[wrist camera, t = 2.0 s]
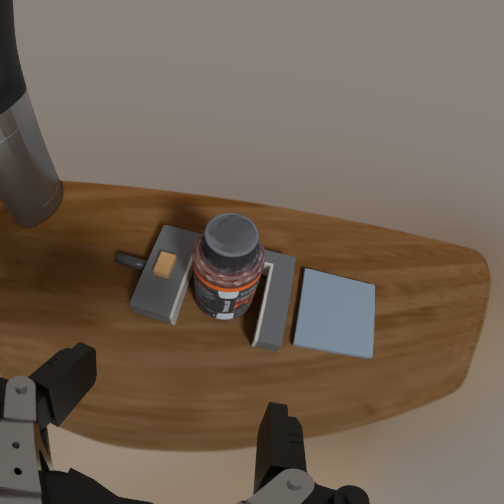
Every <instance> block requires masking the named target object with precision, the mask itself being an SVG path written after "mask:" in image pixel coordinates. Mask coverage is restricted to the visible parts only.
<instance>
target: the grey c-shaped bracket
mask: <svg viewBox="0 0 504 504" xmlns="http://www.w3.org/2000/svg"><path fill="white" fill-rule="evenodd" d="M200 235H201V233H197V232H193V231H189V230H185V229H181V228H177V227H173V226H168V225H164V226H163V228H162V230H161V233H160V235H159V237H158V239H157V241H156V243H155V245H154V248H153V250H152V252H151V254H150V256H149V259H148V261H147V260H144V259H140V258H137V257H133V256H130V255H126V254H123V253H120V252H118V253H117V254H116V256H115V262H116V263H119V264H122V265H125V266H128V267H132V268H135V269H138V270H142V271H143V272H142V275H141V277H140V279H139V282H138V284H137V287H136V289H135V291H134V294H133V296H132V299H131V301H130V304H129V305H130V306H131V308H132V309H133V311H134V312H135V313H138V314H141V315H144V316H147V317H150V318H153V319H156V320H159V321H162V322H166V323H169V324H172V325H175V323H176V320H177V317H178V314H179V311H180V308H181V305H182V303H183V300H184V297H185V294H186V291H187V288H188V285H189V282H190V279H191V276H192V274H193V247H194V245H195V242H196V241H197V239H198V237H199V236H200ZM264 251H265V263H264V267H263V270H262V274H263V275H267V277H266V282H265V287H264V291H263V296H262V300H261V305H260V310H259V314H258V319H257V323H256V328H255V332H254V337H253V341H252V346H255V347H259V348H263V349H268V350H272V351H277V350H278V349H279V348H280V347H281V345H282V339H283V334H284V328H285V323H286V317H287V311H288V305H289V299H290V293H291V287H292V281H293V275H294V268H295V262H296V257H292V256H288V255H284V254H281V253H277V252H273V251H269V250H265V249H264Z"/></svg>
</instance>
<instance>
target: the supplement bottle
mask: <svg viewBox="0 0 504 504" xmlns="http://www.w3.org/2000/svg"><path fill="white" fill-rule="evenodd" d="M264 263H265V251H264V247H263V245H262V243H261V242H260V240H259V234H258V229H257V227H256V226H255V224H254V223H253V222H252V221H251V220H250V219H249V218H247V217H245V216H243V215H240V214H237V213H223V214H220V215H217V216H215V217H214V218H212V219H211V220H210V221H209V222H208V224H207V226H206V228H205V231H204V232H203V233H202V234H201V235H200V236H199V237H198V239H197V241H196V242H195V245H194V247H193V275H194V288H195V298H196V302H197V304H198V306H199V308H200V309H201V311H202V312H203V313H204V314H205V315H207V316H208V317H210V318H212V319H214V320H218V321H231V320H235V319H237V318H239V317H240V316H242V315H243V314H244V313H245V312H246V311H247V310H248V308H249V307H250V305H251V303H252V300H253V296H254V294H255V291H256V288H257V285H258V283H259V279H260V277H261V274H262V270H263V267H264Z"/></svg>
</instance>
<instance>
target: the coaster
mask: <svg viewBox="0 0 504 504" xmlns="http://www.w3.org/2000/svg"><path fill="white" fill-rule="evenodd" d="M374 312H375V285H372V284H368V283H364V282H360V281H356V280H352V279H348V278H344V277H340V276H336V275H332V274H328V273H324V272H320V271H316V270H312V269H308V268H305V269H304V272H303V279H302V287H301V293H300V300H299V307H298V313H297V320H296V326H295V332H294V338H293V344H292V345H294V346H299V347H304V348H309V349H314V350H320V351H325V352H331V353H336V354H342V355H348V356H354V357H361V358H367V359H370V358H372V354H373V338H374Z"/></svg>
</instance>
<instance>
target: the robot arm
mask: <svg viewBox="0 0 504 504" xmlns="http://www.w3.org/2000/svg"><path fill="white" fill-rule="evenodd" d="M62 196H63V187H62V185H61V183H60V180H59V178H58V176H57V173H56V171H55V168H54V166H53V163H52V161H51V158H50V156H49V153H48V151H47V148H46V145H45V143H44V140H43V137H42V135H41V132H40V129H39V126H38V123H37V120H36V117H35V114H34V111H33V108H32V105H31V102H30V98H29V95H28V91H27V88H26V84H25V81H24V77H23V73H22V70H21V65H20V61H19V56H18V51H17V46H16V38H15V29H14V15H13V0H0V199H1V200H2V202H3V203H4V205H5V207H6V208H7V210H8V211H9V213H10V214H11V216H12V217H13V219H14V220H15V222H16V223H17V224H18V225H20V226H23V227H29V226H34V225H36V224H39V223H40V222H42V221H44V220H45V219H46V218H48V217H49V216H50V215H51V214H52V213H53V212H54V211H55V209H56V208H57V207H58V205H59V203H60V202H61V199H62ZM96 376H97V370H96V351H95V349H94V348H93V347H90V346H88V345H86V344H84V343H81V342H79V343H78V344H77V345H75V346H74V347H73V348H72V349H70V348H66V349H64V350H61V351H59V352H57V353H56V354H55V355H54V356H53V357H52V358H50V359H49V360H48V361H47V362H45V363H44V364H43V365H42V366H41V367H40V368H38V369H37V370H36V371H35V372H34V373H33V374H31V375H30V376H29V377H25V376H16V377H13V378H11V379H10V380H7V379H4V378H1V377H0V504H153V503H150V502H146V501H139V500H132V499H127V498H122V497H118V496H116V495H115V494H113V493H112V492H110V491H109V490H108V489H106V488H105V487H103V486H102V485H101V484H99V483H98V482H97V481H95V480H94V479H92V478H90V477H88V476H86V475H84V474H82V473H80V472H78V471H76V470H74V469H72V468H70V470H69V472H68V473H65V472H61V471H55V470H54V467H53V464H52V459H51V453H50V446H49V438H48V429H47V425H48V424H49V423H50V422H51V423H52V424H54V425H56V426H57V427H59V425H60V424H61V423H62V422H63V421H64V419H65V418H66V417H67V416H68V415H69V413H70V412H71V411H72V410H73V409H74V407H75V406H76V405H77V404H78V403H79V401H80V400H81V399H82V398H83V397H84V396H85V394H86V393H87V392H88V391H89V390H90V388H91V387H92V386H93V385H94V383H95V380H96ZM303 443H304V441H303V431H302V426H301V424H300V422H299V421H298V419H297V418H296V417H289V416H288V408H287V405H285V404H279V403H274V402H269V404H268V406H267V409H266V412H265V414H264V417H263V419H262V422H261V424H260V427H259V431H258V437H257V452H256V466H255V480H254V494H253V496H251V497H250V498H249V499H247V500H246V501H240V502H238V503H237V504H370V503H369V498H368V495H367V494H366V492H365V491H364V490H362V489H361V488H359V487H357V486H351V485H347V486H343V487H341V488H339V489H338V490H334V489H330V488H327V487H323V486H320V485H318V484H316V483H315V482H314V481H313V479H312V477H311V476H310V475H309V474H308V473H307V470H306V460H305V450H304V444H303Z"/></svg>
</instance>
